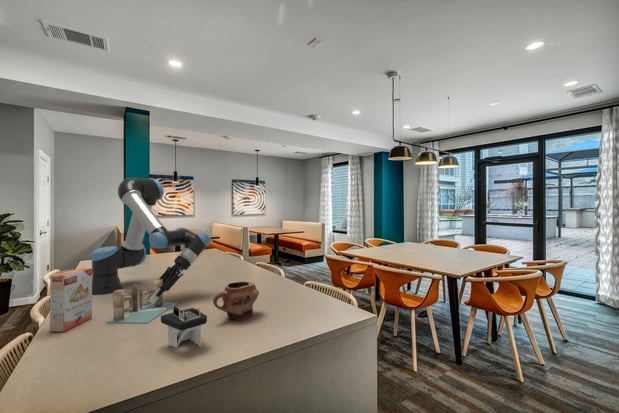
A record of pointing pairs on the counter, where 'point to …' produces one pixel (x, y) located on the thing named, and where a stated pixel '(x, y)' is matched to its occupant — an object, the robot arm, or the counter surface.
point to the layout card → (144, 314)
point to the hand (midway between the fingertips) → (149, 301)
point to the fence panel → (157, 284)
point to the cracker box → (70, 299)
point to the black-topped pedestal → (184, 325)
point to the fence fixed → (119, 302)
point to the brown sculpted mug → (238, 300)
